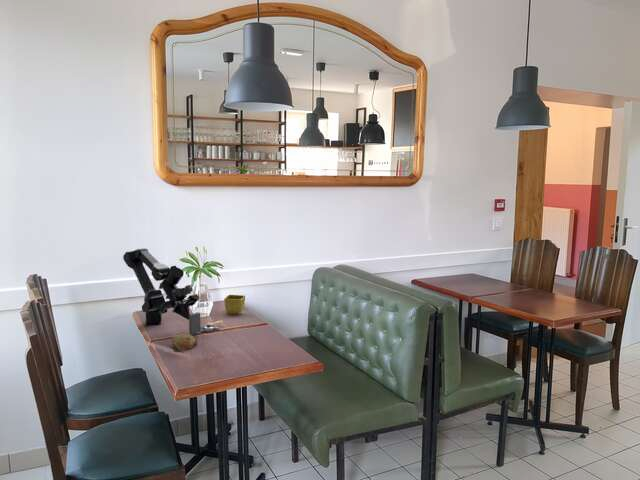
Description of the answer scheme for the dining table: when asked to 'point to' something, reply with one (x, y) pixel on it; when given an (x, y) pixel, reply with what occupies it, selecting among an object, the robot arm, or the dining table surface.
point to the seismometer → (197, 328)
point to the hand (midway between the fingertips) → (189, 319)
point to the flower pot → (234, 303)
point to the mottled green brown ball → (183, 342)
